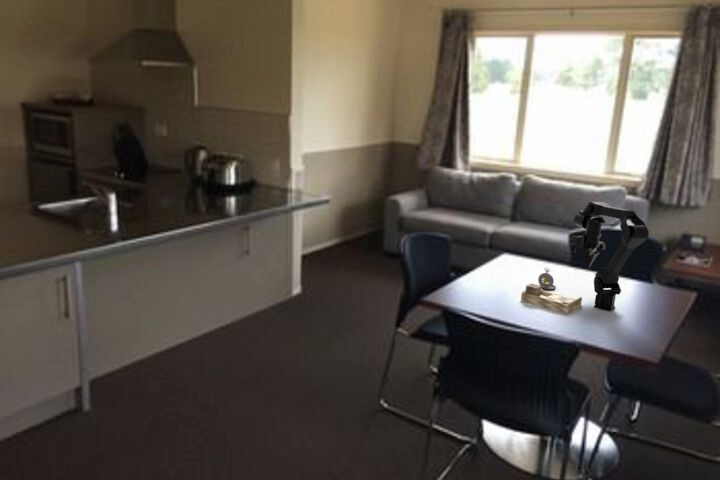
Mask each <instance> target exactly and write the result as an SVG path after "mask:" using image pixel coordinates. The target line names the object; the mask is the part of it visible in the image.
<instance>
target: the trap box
mask: <svg viewBox="0 0 720 480" xmlns="http://www.w3.org/2000/svg"><path fill="white" fill-rule="evenodd" d="M525 292H526V290H524V291H522V292H521V297H520V301H522V302H525V303H528V304H533V305H535V306H539V307H543V308H545V309H549V310H553V311H556V312H559V313H563V314H569V313H571V312H572V311H574V310H576V309H577V308H579V307H581V306H582V301H583V297H581V296H580V297H578V298H576V299H575V298H573V297H568V296H566V295H565V296H564V295H561V294H557V293H553V292H550V291H547V290H544V289H541V294H540V297H538V296H535V295H531V294H528V293H525Z"/></svg>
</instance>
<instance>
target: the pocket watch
mask: <svg viewBox="0 0 720 480" xmlns="http://www.w3.org/2000/svg"><path fill="white" fill-rule="evenodd" d="M544 271H545V272H543V273H541V274H540V275H538V278H537V279H538V284H539V286H541V289H543V290H544V289H545V290H549V291H551V290H555V289H556V288H557V286H555V284H554V282H555V281H554V277H553V276H552V275H551V274H550V273H549V272H551V269H550V268H548V267H547V269H546V268H544Z"/></svg>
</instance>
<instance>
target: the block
mask: <svg viewBox="0 0 720 480" xmlns="http://www.w3.org/2000/svg"><path fill="white" fill-rule="evenodd" d="M541 290H542V288H541V286H540V284H539V285H538V284H536V283H529V284H527V285H525V291H526V292H525V293H528V294H531V295H535V296H538V297H540V294H541Z"/></svg>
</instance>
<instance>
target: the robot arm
mask: <svg viewBox="0 0 720 480" xmlns="http://www.w3.org/2000/svg"><path fill="white" fill-rule="evenodd" d="M602 216H603V217H609V218H610V217H611V218H615V219H619V220H620V225H619V227H620V228H619V229H620V230H621V232H622V234H621V241H622V242H621V243H620V244H619V246H618V248H617V250H616V252H615V253H614V254H613V255H612V257H611V259H610V261H609V262H608V264H607V266H606V267H599V268H598V269H597V272H596V273H595V274H594V278H593V288H594V289H593V290H594V291H593V292H594V293H595V294H596V295H595V299H594V306H593V308H597V309H599V310H604V311H607V312H611V311H613V310H614V309H616V306H615V302H616V297H617V295H619V296H620V294H621V292H622V289H621V286H620V284H619V281H620V278H619V273H620V272H621V270H622V269H623V267H624V265H626V264H625V263H626V262H627V261H628V259H629V258H630V256H631V255H632V253H633V252H634V251H635V248H637V247H638V246H641V245H642V244H643V243H644V242H646V240H647V239H648V238H649V235H650V233H649V229H648V227H647V225H646V223H645V221H643V220H642V218H640V217H639V216H638V215H637V213H636V211H635V210H633V209H625V208H622V207H615V206H611V205H610V204H608V203H606V202H604V201H589V202H588V204H587V205H586V206H585V208H584V210H579V211H578V213H576V215H574V218H573V223H574V225H575V226H577V227H579V228H582V229H585V232H584V233H583V234H582V235H579V236H577V235H572V236H571V237H569V243H570V245H571V246H575V245H576V246H577V245H579V246H577V247H575V248H574V254H577V255H581V256H582V255H583V257H584V264H585V268H587V269H590V267H591V266H592V264H593V263H594V261H595V260H596V258H598V256H599V254H600V251H598V250H597V249H601V251H604V250H606V247H607V246H606V243H605V242H604V241H600V238H602V234H601V232H602V231H601V230H602V224H606V220H605V219H604V218H603V217H602ZM628 221H630V223H631V224H628Z"/></svg>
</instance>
